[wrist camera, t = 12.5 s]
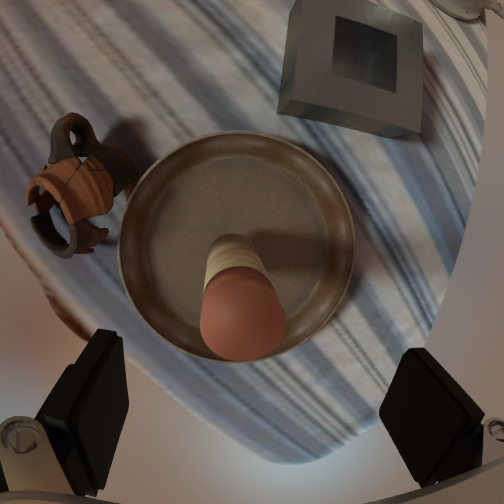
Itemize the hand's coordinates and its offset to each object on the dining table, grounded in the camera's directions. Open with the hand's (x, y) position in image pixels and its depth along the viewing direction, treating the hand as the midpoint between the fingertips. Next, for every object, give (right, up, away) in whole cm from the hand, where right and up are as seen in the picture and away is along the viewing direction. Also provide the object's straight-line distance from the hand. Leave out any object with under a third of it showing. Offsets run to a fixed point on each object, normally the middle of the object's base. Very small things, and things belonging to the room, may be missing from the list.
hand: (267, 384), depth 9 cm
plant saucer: (-2, +5, +20) cm, 21 cm away
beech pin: (-2, +4, +17) cm, 17 cm away
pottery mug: (-15, +11, +17) cm, 25 cm away
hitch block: (+8, +21, +16) cm, 28 cm away
